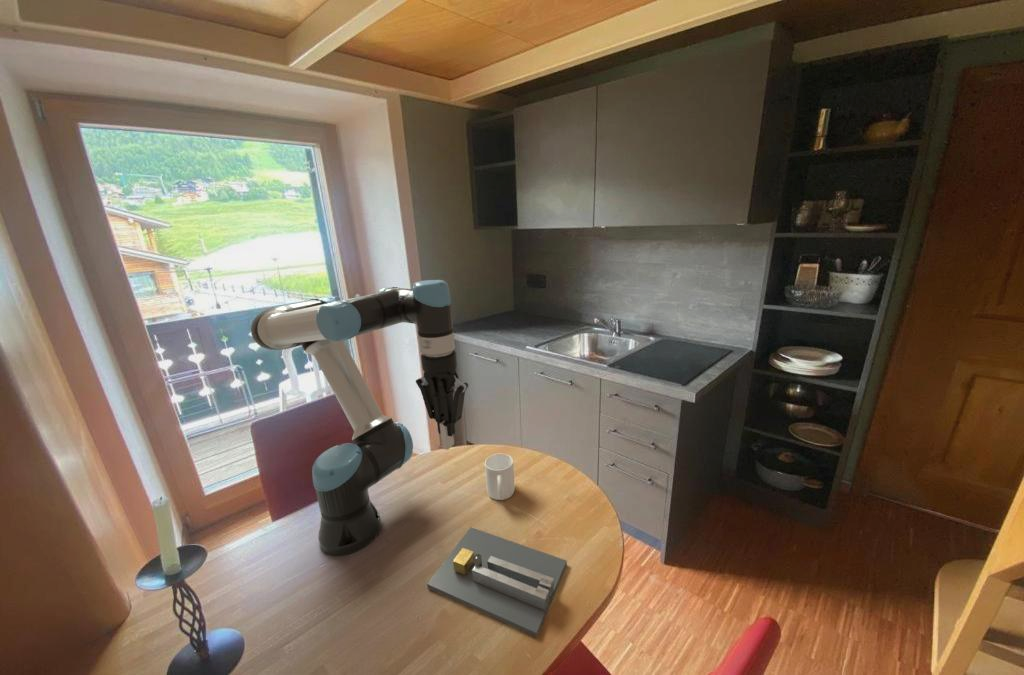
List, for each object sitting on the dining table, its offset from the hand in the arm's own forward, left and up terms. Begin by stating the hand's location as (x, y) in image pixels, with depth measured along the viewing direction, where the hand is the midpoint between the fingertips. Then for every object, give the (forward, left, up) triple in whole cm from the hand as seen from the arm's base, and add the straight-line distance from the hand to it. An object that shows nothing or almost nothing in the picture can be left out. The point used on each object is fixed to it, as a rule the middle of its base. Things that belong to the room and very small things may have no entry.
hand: (448, 446), depth 92 cm
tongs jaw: (+20, -7, -25) cm, 33 cm away
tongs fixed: (+19, -9, -25) cm, 33 cm away
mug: (+3, +18, -27) cm, 32 cm away
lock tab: (+7, -8, -25) cm, 27 cm away
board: (+15, -6, -26) cm, 31 cm away
